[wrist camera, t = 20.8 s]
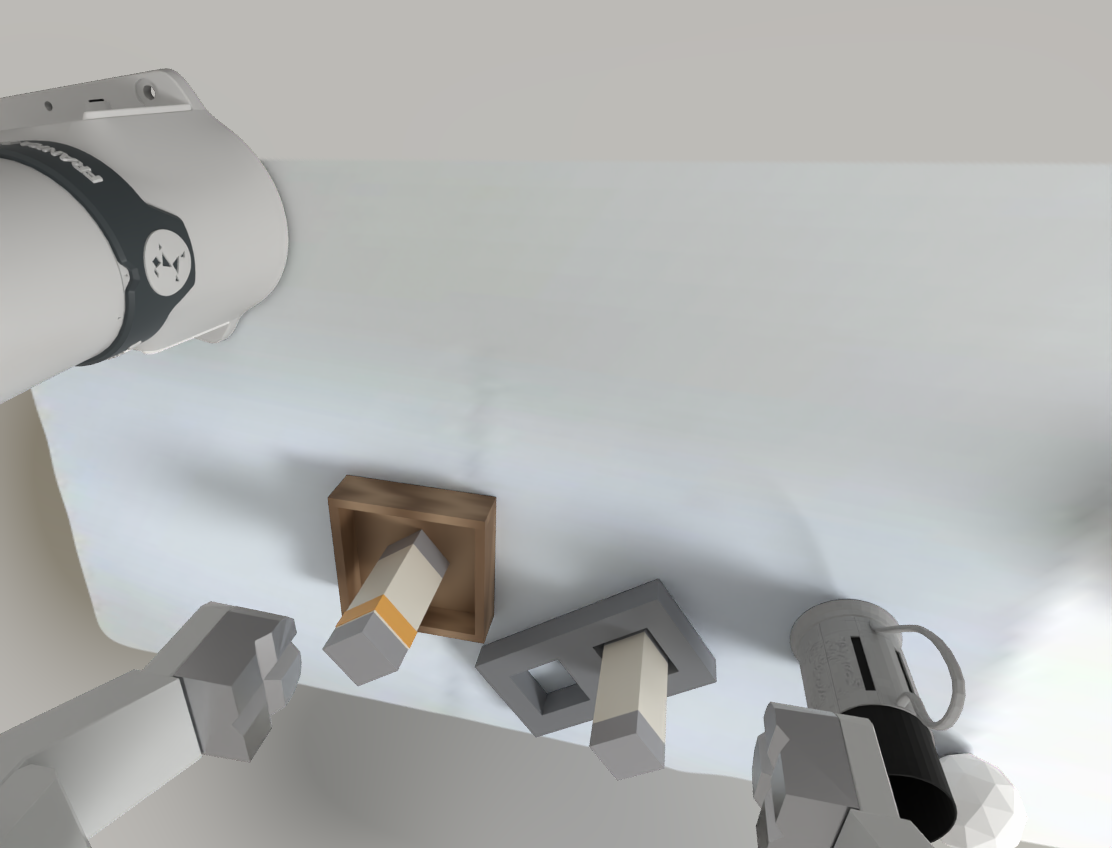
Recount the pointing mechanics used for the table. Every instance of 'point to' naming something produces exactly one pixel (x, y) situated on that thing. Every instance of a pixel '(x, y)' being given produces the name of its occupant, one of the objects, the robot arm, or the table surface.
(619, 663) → the block
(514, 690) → the fuse block
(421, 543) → the block
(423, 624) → the tray
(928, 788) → the grey mug
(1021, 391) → the table surface
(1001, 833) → the ball
